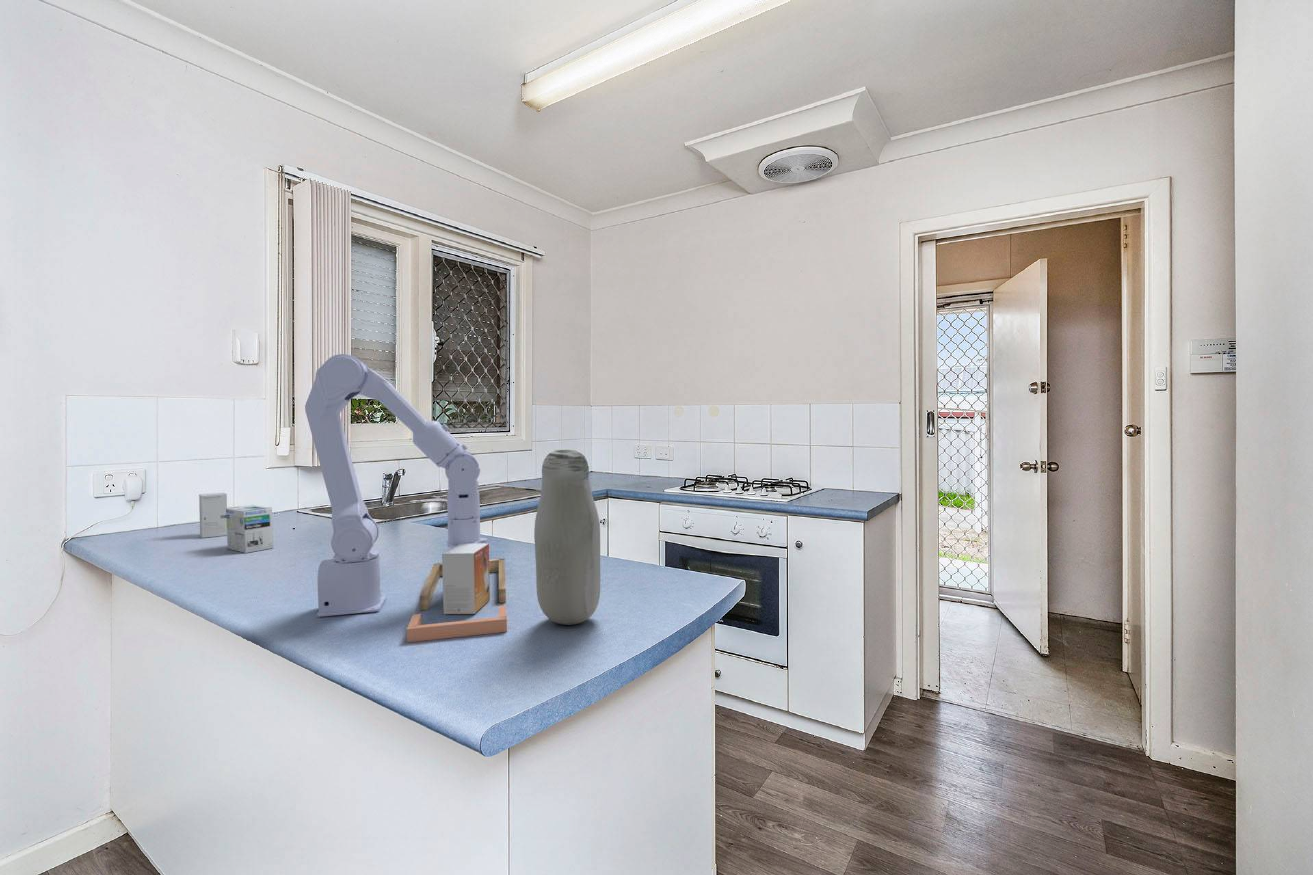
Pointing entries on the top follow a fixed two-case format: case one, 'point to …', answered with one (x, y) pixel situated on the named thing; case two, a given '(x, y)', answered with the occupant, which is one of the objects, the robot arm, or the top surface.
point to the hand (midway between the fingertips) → (465, 589)
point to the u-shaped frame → (436, 572)
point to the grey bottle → (567, 540)
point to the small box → (466, 578)
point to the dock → (455, 627)
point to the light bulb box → (249, 528)
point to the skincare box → (213, 514)
